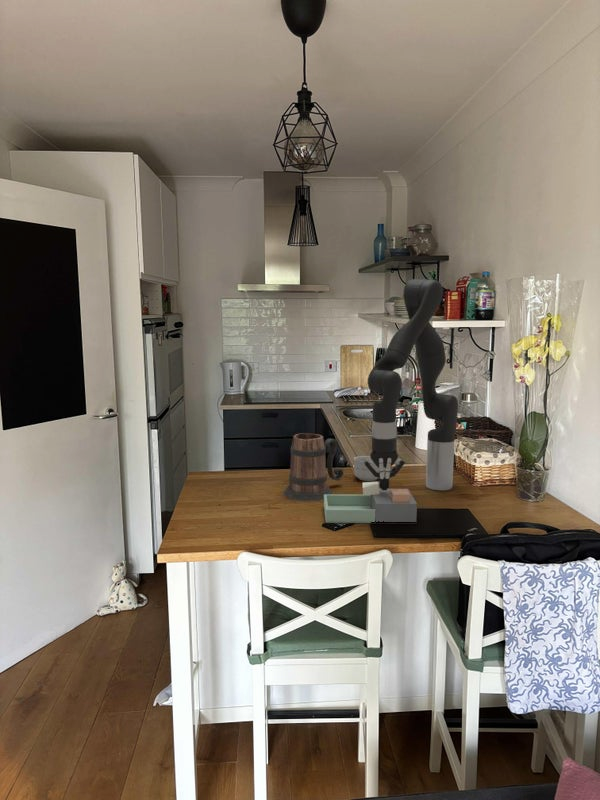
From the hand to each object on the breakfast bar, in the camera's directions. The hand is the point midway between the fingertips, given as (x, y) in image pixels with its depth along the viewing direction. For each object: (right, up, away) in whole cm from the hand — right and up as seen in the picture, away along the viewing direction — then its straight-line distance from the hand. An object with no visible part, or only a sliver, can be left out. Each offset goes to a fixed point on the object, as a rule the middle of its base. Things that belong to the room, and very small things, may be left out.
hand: (383, 489), depth 178 cm
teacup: (0, -2, +34) cm, 34 cm away
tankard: (-21, -4, +21) cm, 29 cm away
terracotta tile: (+4, -2, -6) cm, 7 cm away
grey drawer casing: (+2, -7, -2) cm, 8 cm away
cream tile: (-4, -1, +1) cm, 4 cm away
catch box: (-11, -7, -2) cm, 14 cm away
